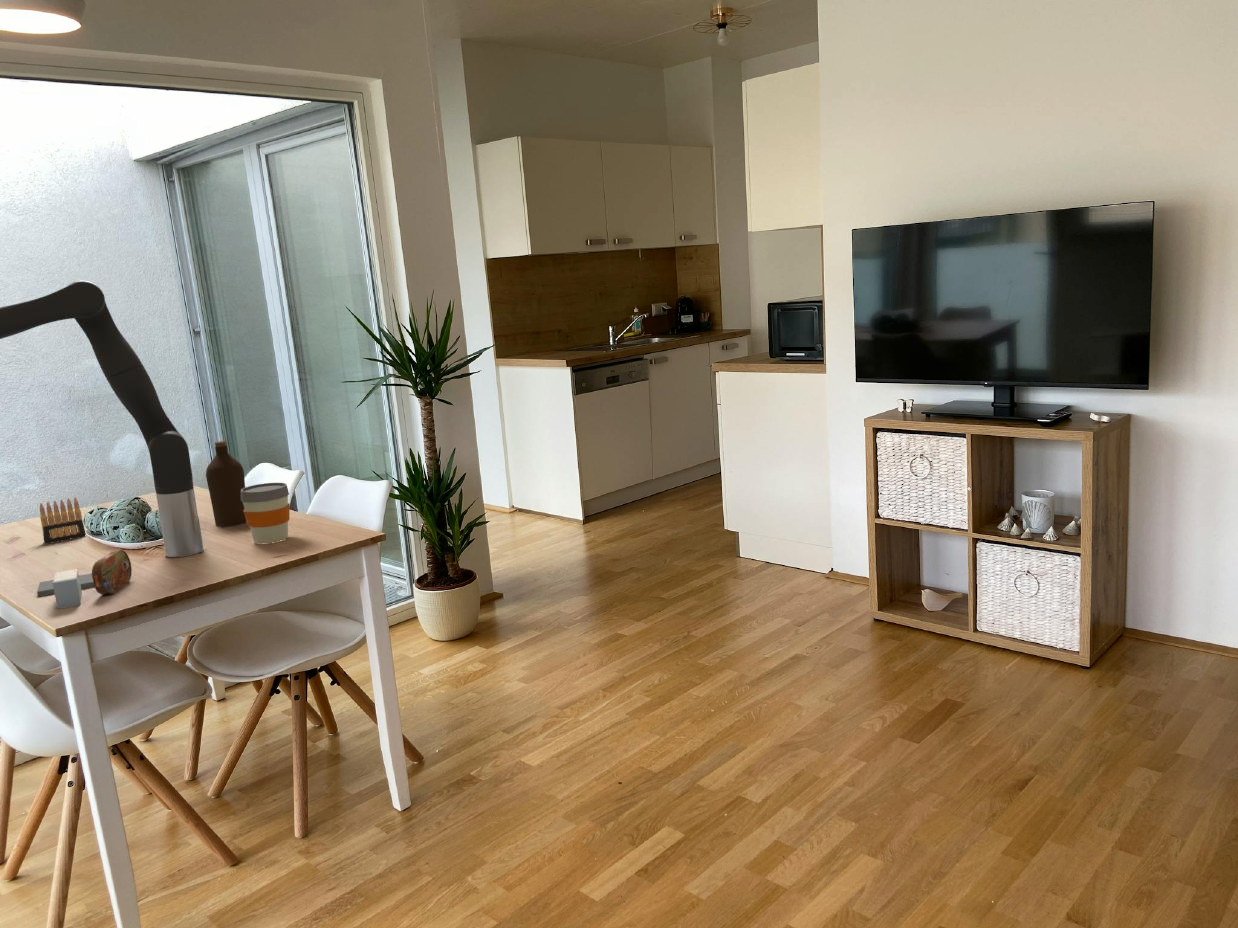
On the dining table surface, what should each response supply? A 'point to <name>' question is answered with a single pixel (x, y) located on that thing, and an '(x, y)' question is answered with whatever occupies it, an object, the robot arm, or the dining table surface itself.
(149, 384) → the robot arm
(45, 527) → the ammunition clip
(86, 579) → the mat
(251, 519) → the reusable coffee cup
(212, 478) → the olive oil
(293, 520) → the dining table surface
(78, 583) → the box
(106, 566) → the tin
